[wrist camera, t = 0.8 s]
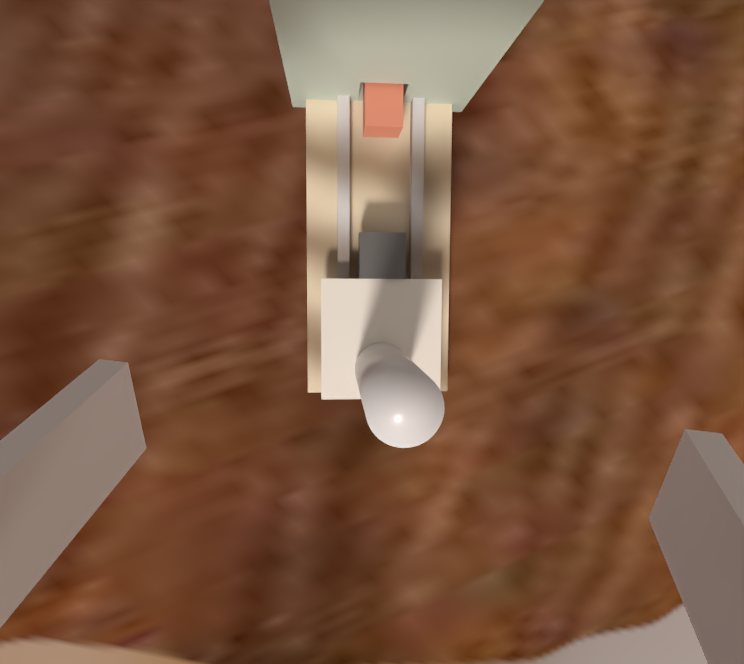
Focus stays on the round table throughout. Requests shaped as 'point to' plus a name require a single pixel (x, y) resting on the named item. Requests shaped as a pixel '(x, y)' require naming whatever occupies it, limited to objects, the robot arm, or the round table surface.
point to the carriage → (384, 342)
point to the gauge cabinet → (395, 45)
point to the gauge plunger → (382, 110)
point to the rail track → (375, 201)
